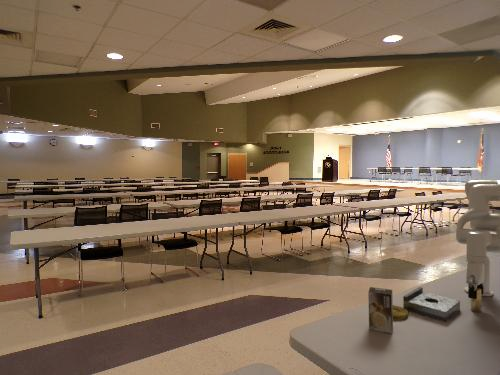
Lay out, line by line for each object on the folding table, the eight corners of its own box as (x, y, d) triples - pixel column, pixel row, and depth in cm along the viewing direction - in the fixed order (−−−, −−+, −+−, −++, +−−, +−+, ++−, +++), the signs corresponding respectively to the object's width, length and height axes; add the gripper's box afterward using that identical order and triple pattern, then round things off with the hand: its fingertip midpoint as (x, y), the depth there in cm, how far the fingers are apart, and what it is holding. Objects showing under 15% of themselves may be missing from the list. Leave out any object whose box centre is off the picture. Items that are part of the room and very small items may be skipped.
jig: (419, 299, 167) (419, 286, 167) (459, 310, 154) (460, 296, 153) (403, 309, 155) (403, 296, 155) (445, 322, 142) (445, 307, 141)
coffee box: (393, 327, 138) (393, 289, 138) (392, 334, 133) (392, 294, 132) (370, 323, 143) (370, 286, 142) (368, 329, 137) (368, 291, 136)
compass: (388, 307, 159) (388, 302, 159) (413, 315, 150) (413, 310, 150) (373, 314, 152) (373, 309, 152) (398, 323, 143) (398, 318, 142)
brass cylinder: (472, 307, 156) (472, 286, 155) (482, 310, 153) (482, 288, 152) (469, 310, 153) (469, 288, 153) (479, 312, 150) (479, 291, 150)
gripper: (472, 254, 160) (472, 289, 161) (460, 260, 149) (460, 298, 149) (491, 257, 155) (491, 293, 155) (480, 263, 143) (479, 302, 144)
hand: (475, 295), depth 152 cm, fingers open, 9 cm apart
